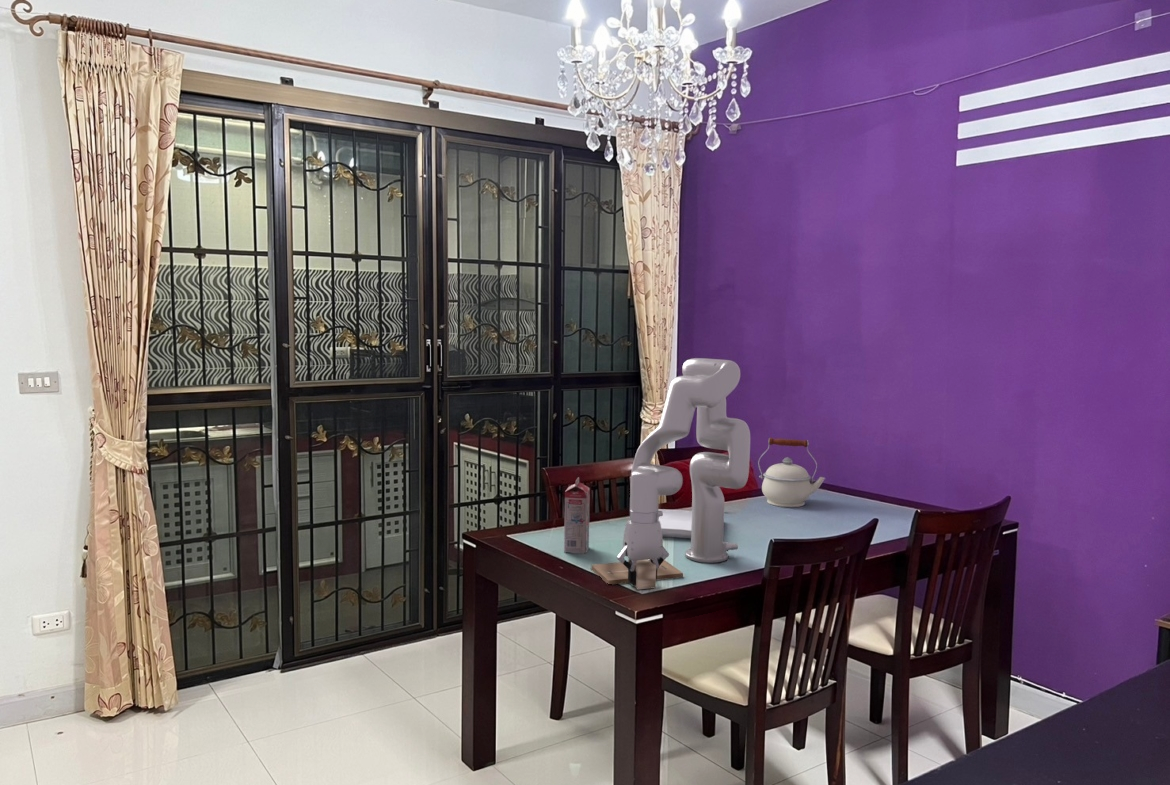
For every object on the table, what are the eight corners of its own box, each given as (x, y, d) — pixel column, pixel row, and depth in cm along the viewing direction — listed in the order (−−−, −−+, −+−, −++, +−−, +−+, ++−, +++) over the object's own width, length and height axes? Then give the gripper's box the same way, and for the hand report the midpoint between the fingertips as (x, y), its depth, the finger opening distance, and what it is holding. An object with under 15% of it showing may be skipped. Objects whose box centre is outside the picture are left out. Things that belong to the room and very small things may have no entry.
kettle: (754, 506, 315) (757, 440, 312) (759, 495, 332) (761, 433, 330) (823, 511, 308) (826, 445, 305) (824, 500, 325) (827, 437, 322)
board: (662, 562, 244) (662, 558, 244) (682, 577, 231) (683, 572, 230) (591, 569, 237) (591, 564, 236) (608, 584, 223) (608, 580, 223)
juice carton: (564, 552, 252) (565, 480, 250) (567, 546, 259) (568, 476, 256) (585, 553, 251) (586, 481, 249) (588, 547, 258) (589, 477, 256)
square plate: (719, 544, 265) (719, 532, 264) (633, 538, 270) (634, 526, 270) (722, 522, 291) (722, 511, 291) (644, 517, 297) (645, 506, 296)
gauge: (638, 573, 232) (638, 552, 232) (655, 587, 221) (656, 565, 220) (621, 575, 231) (621, 554, 230) (638, 589, 219) (638, 567, 219)
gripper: (667, 511, 227) (665, 576, 229) (608, 515, 222) (607, 581, 224) (679, 517, 220) (677, 584, 222) (619, 522, 215) (617, 591, 216)
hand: (642, 582), depth 223 cm, fingers closed on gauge, 5 cm apart
